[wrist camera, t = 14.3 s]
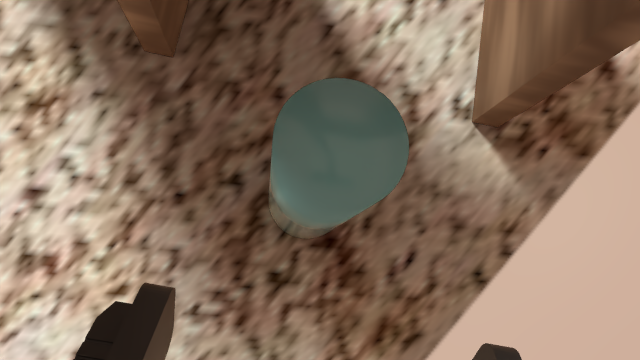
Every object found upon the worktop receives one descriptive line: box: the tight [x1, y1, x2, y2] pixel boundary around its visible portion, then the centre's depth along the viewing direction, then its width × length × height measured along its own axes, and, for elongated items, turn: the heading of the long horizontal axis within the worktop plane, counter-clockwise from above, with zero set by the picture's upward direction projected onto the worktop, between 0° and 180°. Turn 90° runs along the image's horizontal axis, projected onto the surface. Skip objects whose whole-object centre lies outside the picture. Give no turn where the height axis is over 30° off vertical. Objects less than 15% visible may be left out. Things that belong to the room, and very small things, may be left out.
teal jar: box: [269, 78, 409, 239], centre depth 24 cm, size 5×5×14 cm
